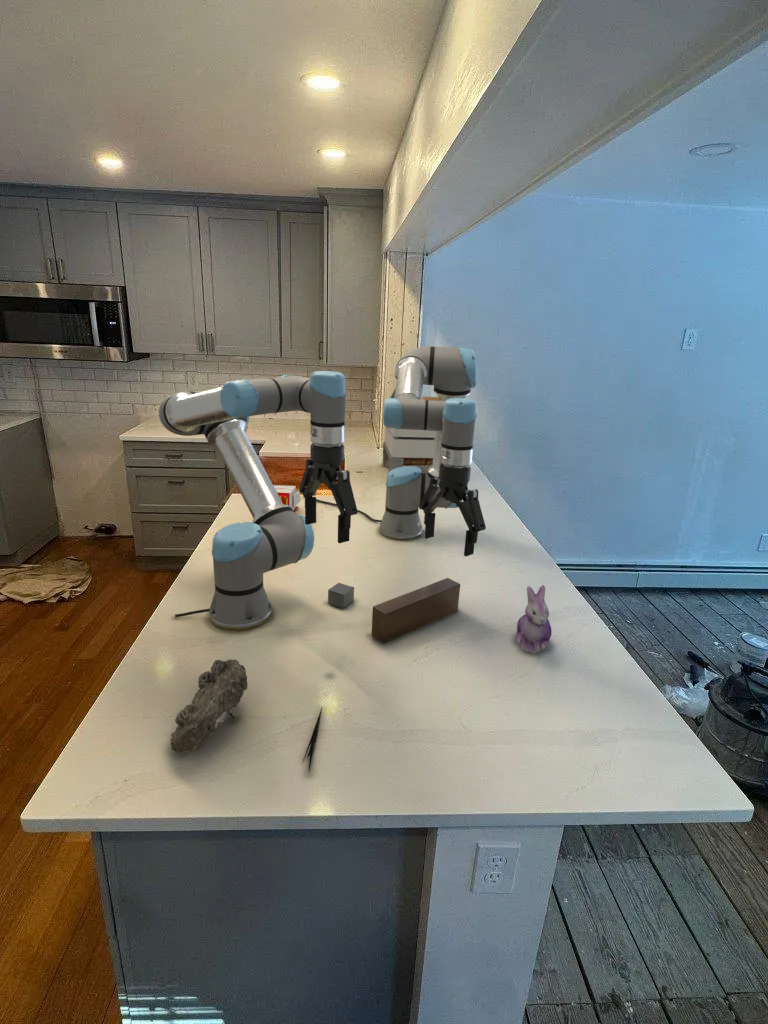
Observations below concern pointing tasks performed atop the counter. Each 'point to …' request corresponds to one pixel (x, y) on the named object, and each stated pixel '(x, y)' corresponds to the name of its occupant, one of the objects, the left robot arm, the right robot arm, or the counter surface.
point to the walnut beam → (414, 609)
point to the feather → (313, 740)
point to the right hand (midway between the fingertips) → (448, 546)
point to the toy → (288, 495)
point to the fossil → (210, 704)
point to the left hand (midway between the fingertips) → (326, 532)
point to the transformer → (408, 446)
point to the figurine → (534, 623)
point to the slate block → (341, 595)
